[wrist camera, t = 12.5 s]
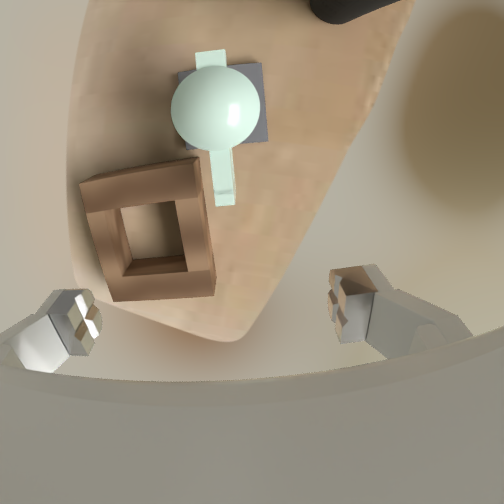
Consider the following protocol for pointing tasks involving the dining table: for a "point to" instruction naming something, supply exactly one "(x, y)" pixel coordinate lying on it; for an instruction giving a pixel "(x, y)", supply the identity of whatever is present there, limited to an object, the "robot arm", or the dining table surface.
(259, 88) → the mat
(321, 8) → the drinking cup
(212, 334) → the dining table surface
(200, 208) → the stand
